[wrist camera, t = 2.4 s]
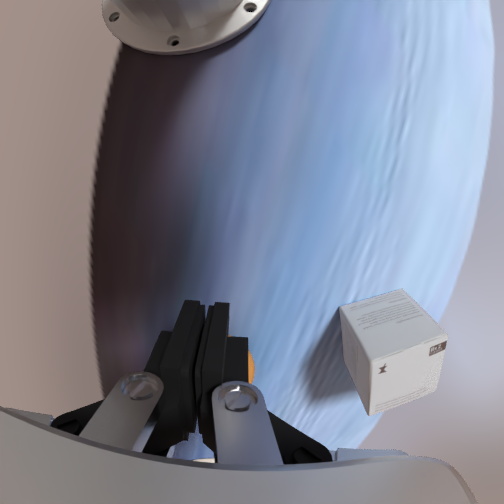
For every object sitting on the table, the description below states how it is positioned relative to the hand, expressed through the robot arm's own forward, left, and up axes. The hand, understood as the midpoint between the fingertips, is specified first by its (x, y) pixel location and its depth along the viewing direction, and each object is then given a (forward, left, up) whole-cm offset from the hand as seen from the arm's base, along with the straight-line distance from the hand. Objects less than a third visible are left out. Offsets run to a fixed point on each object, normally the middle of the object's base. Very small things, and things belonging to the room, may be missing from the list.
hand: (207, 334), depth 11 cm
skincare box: (+6, +13, -11) cm, 18 cm away
